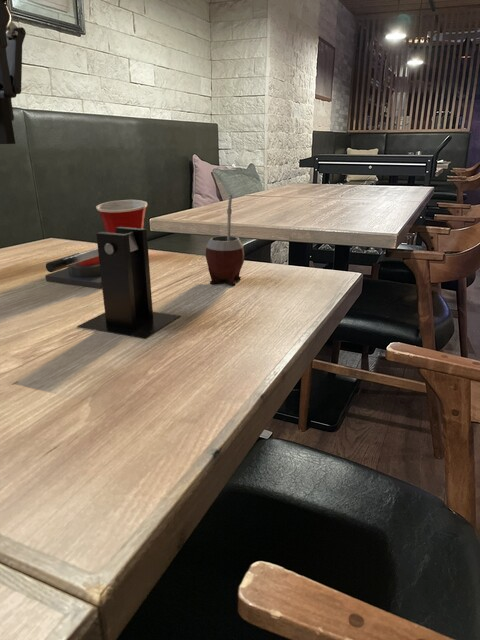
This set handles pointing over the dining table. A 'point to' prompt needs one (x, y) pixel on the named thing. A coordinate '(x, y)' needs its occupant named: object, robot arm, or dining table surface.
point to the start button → (90, 262)
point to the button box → (78, 276)
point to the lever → (83, 257)
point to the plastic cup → (122, 214)
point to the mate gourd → (225, 256)
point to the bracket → (126, 287)
